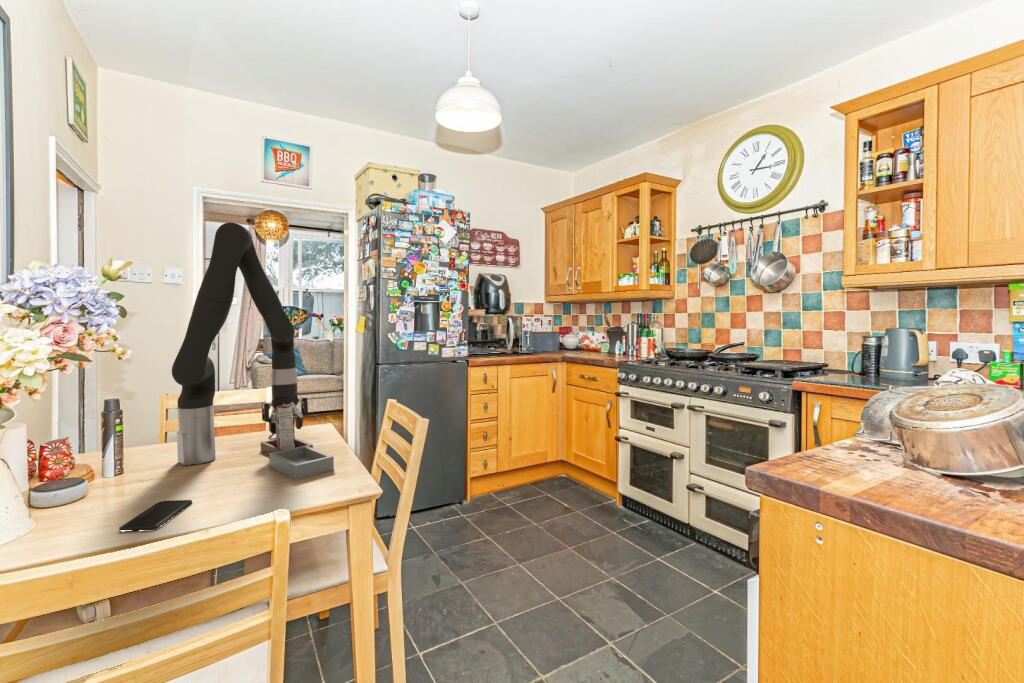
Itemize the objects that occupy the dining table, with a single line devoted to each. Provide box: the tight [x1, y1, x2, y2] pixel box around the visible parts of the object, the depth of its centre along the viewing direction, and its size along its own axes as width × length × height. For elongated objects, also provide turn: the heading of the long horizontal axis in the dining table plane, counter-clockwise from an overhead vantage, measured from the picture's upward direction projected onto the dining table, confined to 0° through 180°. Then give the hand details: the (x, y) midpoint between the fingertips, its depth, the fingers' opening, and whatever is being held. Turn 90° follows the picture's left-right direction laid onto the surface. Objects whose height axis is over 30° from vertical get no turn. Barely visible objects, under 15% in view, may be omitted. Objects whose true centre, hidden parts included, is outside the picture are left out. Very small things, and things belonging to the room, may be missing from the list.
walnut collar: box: [260, 437, 314, 455], centre depth 158 cm, size 10×16×3 cm, turn 49°
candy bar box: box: [275, 404, 296, 450], centre depth 158 cm, size 11×5×16 cm, turn 31°
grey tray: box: [268, 446, 335, 480], centre depth 143 cm, size 11×17×4 cm, turn 49°
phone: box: [118, 499, 193, 531], centre depth 110 cm, size 8×1×15 cm
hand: (286, 431), depth 158 cm, fingers open, 7 cm apart
